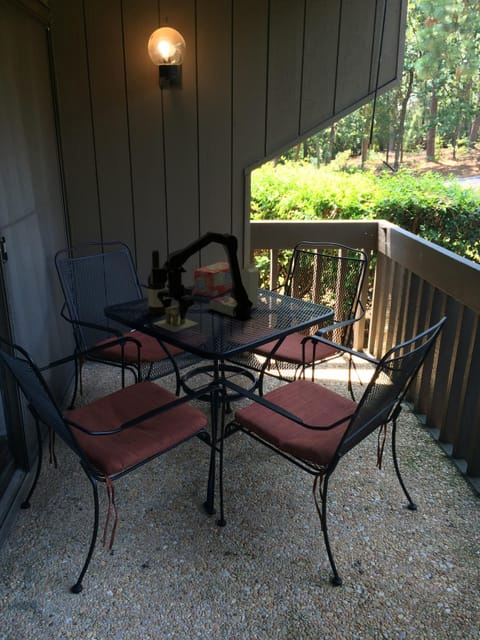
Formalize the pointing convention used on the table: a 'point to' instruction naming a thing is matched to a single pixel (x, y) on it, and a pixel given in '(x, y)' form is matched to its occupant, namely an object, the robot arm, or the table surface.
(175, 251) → the robot arm
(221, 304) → the candy bar box
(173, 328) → the mat
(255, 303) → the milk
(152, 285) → the wine bottle
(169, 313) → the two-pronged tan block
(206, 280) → the box
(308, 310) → the table surface
